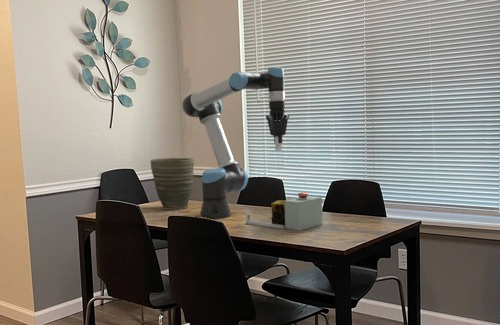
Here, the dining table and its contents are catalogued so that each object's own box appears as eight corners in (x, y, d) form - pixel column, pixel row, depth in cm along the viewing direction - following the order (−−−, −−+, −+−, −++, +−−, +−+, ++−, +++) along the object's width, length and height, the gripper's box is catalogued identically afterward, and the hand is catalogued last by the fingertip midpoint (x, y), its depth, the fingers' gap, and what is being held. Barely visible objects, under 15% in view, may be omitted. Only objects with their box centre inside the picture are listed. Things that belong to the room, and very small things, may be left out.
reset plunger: (296, 211, 247) (296, 193, 247) (302, 210, 251) (302, 192, 250) (304, 212, 244) (303, 194, 244) (310, 211, 247) (310, 193, 247)
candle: (292, 226, 249) (292, 204, 248) (271, 225, 253) (270, 203, 252) (299, 222, 258) (298, 200, 258) (278, 221, 262) (277, 200, 261)
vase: (199, 210, 305) (190, 156, 299) (156, 217, 305) (146, 163, 299) (203, 198, 329) (194, 148, 323) (162, 204, 329) (153, 154, 323)
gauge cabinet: (283, 228, 246) (282, 200, 245) (306, 222, 257) (305, 196, 256) (299, 230, 239) (298, 202, 238) (322, 224, 251) (321, 197, 250)
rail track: (246, 223, 259) (245, 215, 259) (274, 217, 273) (273, 208, 273) (282, 228, 244) (282, 219, 243) (310, 221, 258) (310, 213, 257)
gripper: (261, 101, 269) (263, 150, 271) (282, 99, 260) (283, 150, 262) (271, 101, 275) (273, 149, 276) (292, 99, 265) (294, 149, 267)
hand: (278, 150), depth 269 cm, fingers closed
